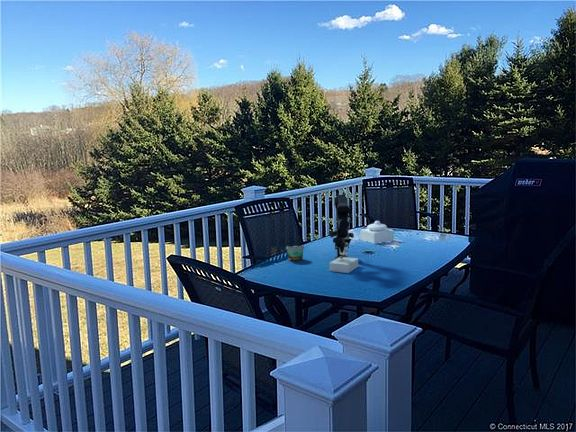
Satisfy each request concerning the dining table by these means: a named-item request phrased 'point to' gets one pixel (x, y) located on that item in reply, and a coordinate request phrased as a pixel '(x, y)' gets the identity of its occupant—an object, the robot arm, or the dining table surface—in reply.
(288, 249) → the food container
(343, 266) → the camera body
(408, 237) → the dining table surface
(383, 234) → the butter dish
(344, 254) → the steel lens
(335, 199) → the robot arm
